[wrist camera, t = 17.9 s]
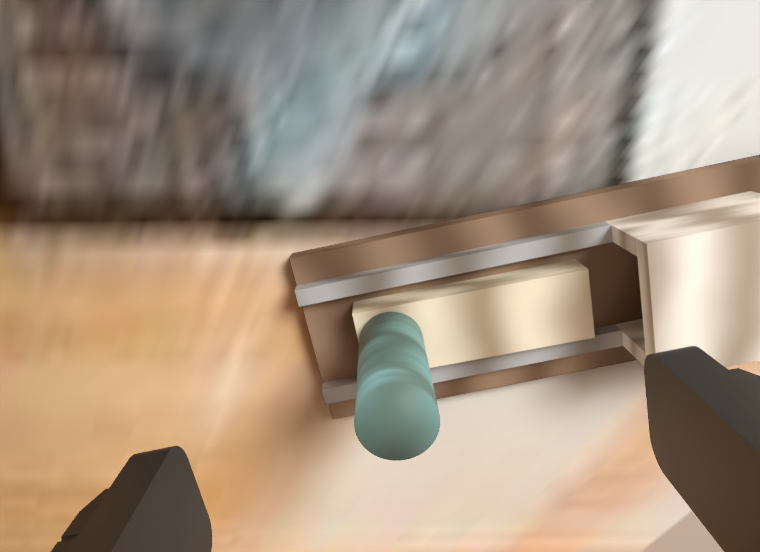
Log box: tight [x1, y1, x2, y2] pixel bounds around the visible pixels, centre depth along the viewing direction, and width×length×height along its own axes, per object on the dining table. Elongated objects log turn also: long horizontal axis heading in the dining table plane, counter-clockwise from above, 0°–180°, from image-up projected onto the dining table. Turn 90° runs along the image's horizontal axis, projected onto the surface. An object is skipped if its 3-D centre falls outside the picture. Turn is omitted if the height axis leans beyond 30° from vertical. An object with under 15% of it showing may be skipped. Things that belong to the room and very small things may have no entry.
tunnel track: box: [290, 155, 760, 419], centre depth 39 cm, size 42×13×8 cm, turn 102°
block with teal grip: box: [352, 259, 595, 460], centre depth 36 cm, size 16×5×13 cm, turn 101°
